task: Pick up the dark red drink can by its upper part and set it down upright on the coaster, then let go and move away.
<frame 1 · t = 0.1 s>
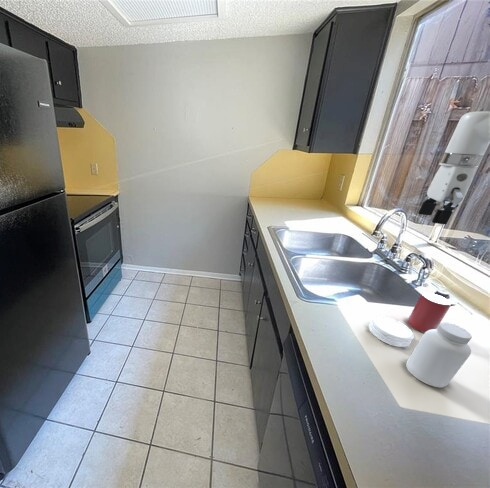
hand: (431, 218, 79), 33 cm above the worktop, tool pointing down, fingers open, 9 cm apart
can: (420, 326, 83), on the worktop
coaster: (387, 335, 78), on the worktop
pill bottle: (425, 375, 66), on the worktop
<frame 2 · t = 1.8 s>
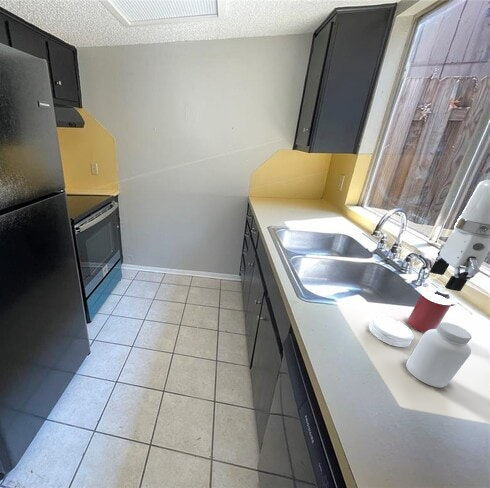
hand: (443, 281, 76), 17 cm above the worktop, tool pointing down, fingers open, 9 cm apart
nothing on the worktop moved.
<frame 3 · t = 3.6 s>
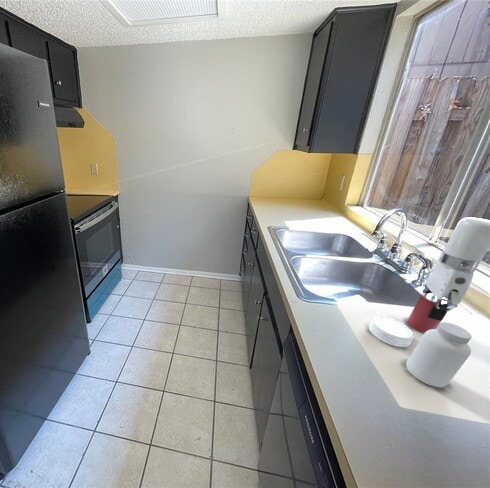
hand: (428, 311, 80), 6 cm above the worktop, tool pointing down, fingers closed on can, 6 cm apart
can: (420, 326, 83), on the worktop, touching gripper
everything else where it was.
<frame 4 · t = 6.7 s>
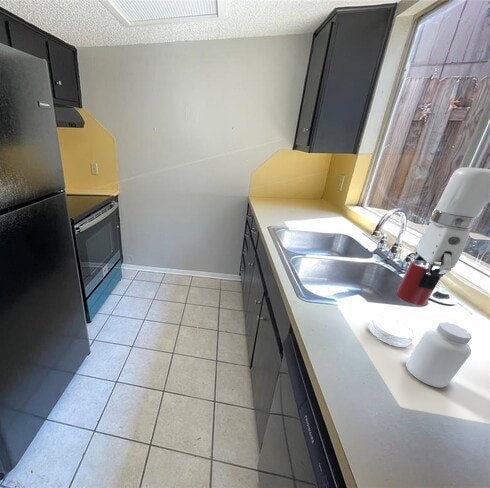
hand: (419, 280, 71), 19 cm above the worktop, tool pointing down, fingers closed on can, 6 cm apart
can: (409, 298, 73), point 13 cm above the worktop, touching gripper
everything else where it was.
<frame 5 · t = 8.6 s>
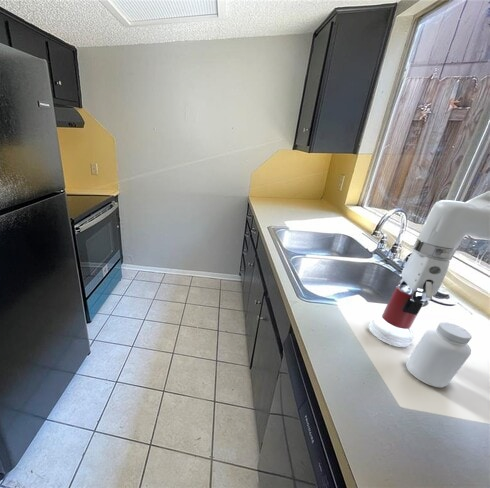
hand: (404, 304, 74), 12 cm above the worktop, tool pointing down, fingers closed on can, 6 cm apart
can: (395, 321, 76), point 5 cm above the worktop, touching gripper
everything else where it was.
when the fingers open (10 cm above the worktop, at t = 9.8 s): can stays where it is, resting on coaster.
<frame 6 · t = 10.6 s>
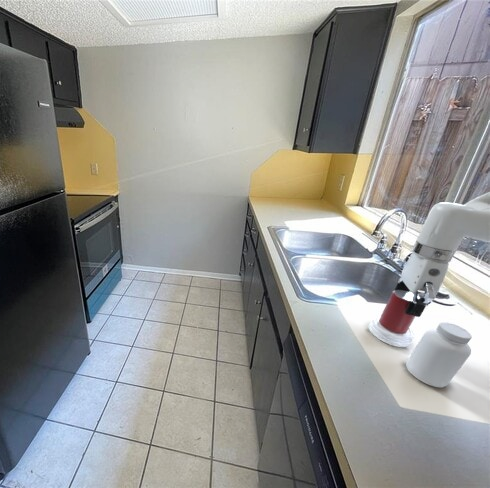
hand: (405, 304, 74), 12 cm above the worktop, tool pointing down, fingers open, 9 cm apart
can: (392, 326, 77), point 4 cm above the worktop, touching coaster
coaster: (387, 335, 78), on the worktop, touching can
everything else where it was.
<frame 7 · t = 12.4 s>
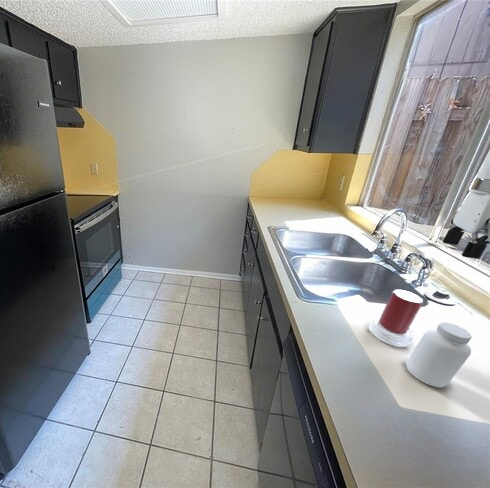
hand: (459, 250, 70), 28 cm above the worktop, tool pointing down, fingers open, 9 cm apart
nothing on the worktop moved.
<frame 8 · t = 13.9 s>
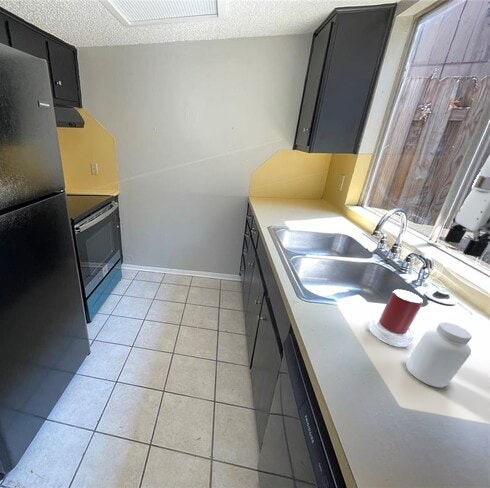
hand: (460, 248, 70), 28 cm above the worktop, tool pointing down, fingers open, 9 cm apart
nothing on the worktop moved.
at the end: can 0.1 cm off-centre on the coaster, point 3.7 cm above the coaster's base; can tilted 0°; the gripper is holding nothing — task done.
